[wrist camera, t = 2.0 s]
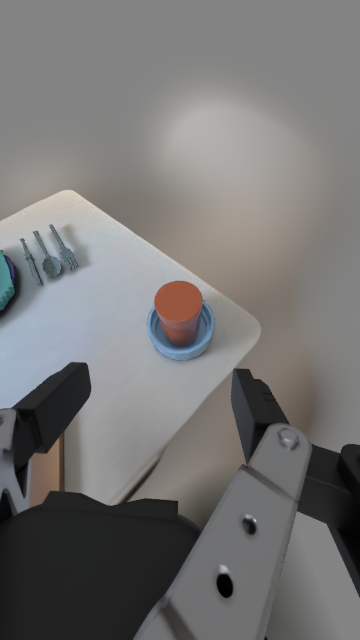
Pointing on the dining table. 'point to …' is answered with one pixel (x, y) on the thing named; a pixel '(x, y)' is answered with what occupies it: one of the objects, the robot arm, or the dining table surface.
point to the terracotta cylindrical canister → (179, 312)
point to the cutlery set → (3, 270)
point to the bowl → (182, 352)
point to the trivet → (47, 473)
